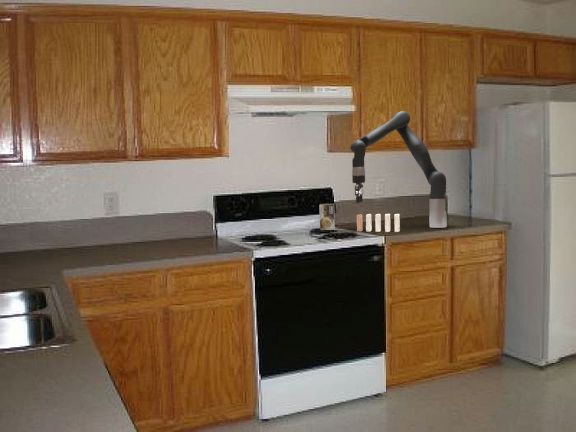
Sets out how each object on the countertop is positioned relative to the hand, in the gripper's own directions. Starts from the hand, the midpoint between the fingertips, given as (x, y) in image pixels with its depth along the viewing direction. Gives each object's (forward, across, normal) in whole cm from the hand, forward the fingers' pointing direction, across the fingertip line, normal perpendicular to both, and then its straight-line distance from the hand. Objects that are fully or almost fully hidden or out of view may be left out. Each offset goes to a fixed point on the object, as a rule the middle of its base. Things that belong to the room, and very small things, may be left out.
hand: (359, 202), depth 356 cm
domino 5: (+17, 0, +22) cm, 28 cm away
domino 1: (+17, 0, 0) cm, 17 cm away
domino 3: (+17, 0, +11) cm, 20 cm away
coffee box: (+17, -5, -21) cm, 28 cm away
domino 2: (+17, 0, +5) cm, 18 cm away
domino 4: (+17, 0, +16) cm, 24 cm away
